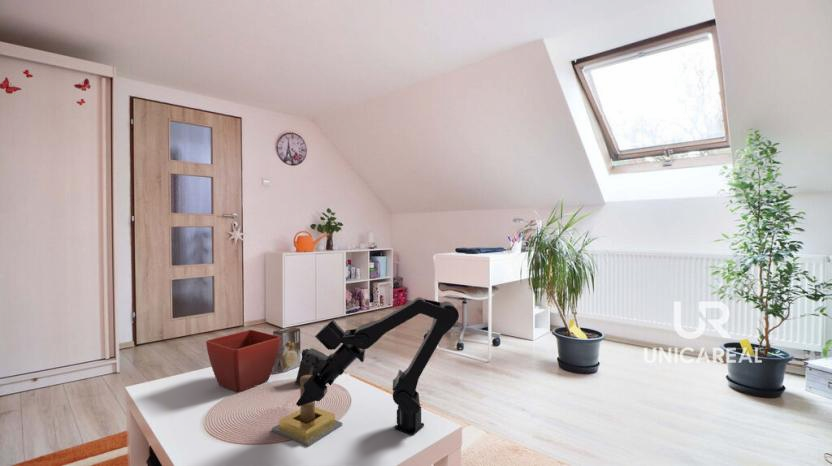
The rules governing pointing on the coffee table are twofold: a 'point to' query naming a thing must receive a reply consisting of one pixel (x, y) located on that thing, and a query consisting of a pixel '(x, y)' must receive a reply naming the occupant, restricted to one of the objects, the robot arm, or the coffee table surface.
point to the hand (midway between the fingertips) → (302, 397)
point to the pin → (307, 409)
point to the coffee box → (288, 349)
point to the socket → (307, 427)
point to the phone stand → (304, 368)
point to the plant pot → (243, 358)
